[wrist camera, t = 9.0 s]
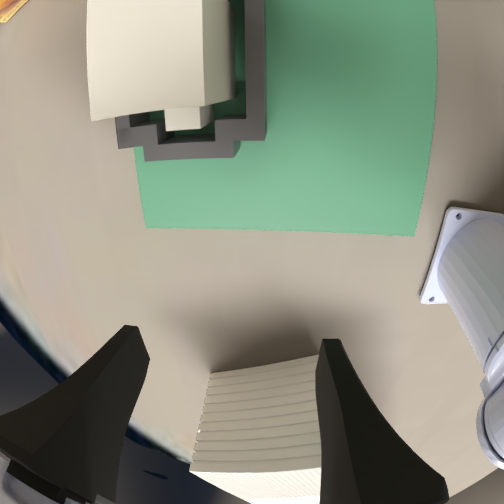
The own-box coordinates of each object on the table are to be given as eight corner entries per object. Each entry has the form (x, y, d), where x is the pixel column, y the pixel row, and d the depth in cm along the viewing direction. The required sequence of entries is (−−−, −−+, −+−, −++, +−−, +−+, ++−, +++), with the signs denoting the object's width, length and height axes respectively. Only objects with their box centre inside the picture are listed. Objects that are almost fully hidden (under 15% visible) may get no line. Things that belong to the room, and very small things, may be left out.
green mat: (417, -57, 8) (423, -61, 7) (408, 229, 18) (414, 236, 17) (139, -61, 9) (132, -67, 8) (151, 221, 19) (146, 228, 18)
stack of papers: (355, 458, 39) (359, 512, 30) (295, 467, 42) (293, 519, 33) (320, 351, 25) (327, 466, 16) (210, 371, 27) (189, 471, 18)
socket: (265, -14, 10) (262, -31, 8) (266, 147, 15) (264, 158, 13) (133, 4, 11) (111, -5, 9) (140, 152, 16) (120, 163, 14)
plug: (234, -20, 10) (203, -81, 4) (237, 120, 15) (206, 144, 9) (160, -10, 11) (92, -50, 5) (164, 124, 15) (95, 154, 9)
